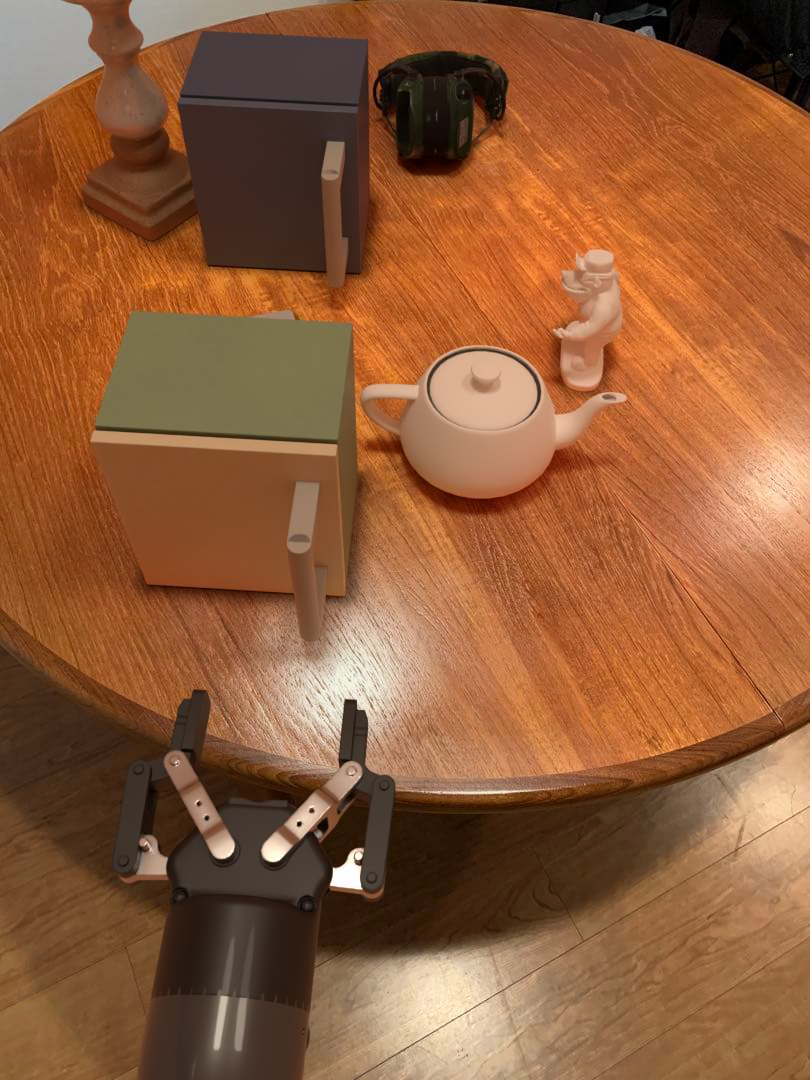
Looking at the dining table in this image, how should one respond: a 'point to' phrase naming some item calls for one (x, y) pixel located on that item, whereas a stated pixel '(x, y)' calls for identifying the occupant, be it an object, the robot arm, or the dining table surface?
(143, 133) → the candle holder
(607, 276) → the figurine
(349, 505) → the green-topped cabinet
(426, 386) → the teapot
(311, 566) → the peach cabinet door
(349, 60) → the dark purple boxy piece
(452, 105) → the headphones
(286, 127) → the dark cabinet door
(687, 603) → the dining table surface
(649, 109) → the dining table surface
